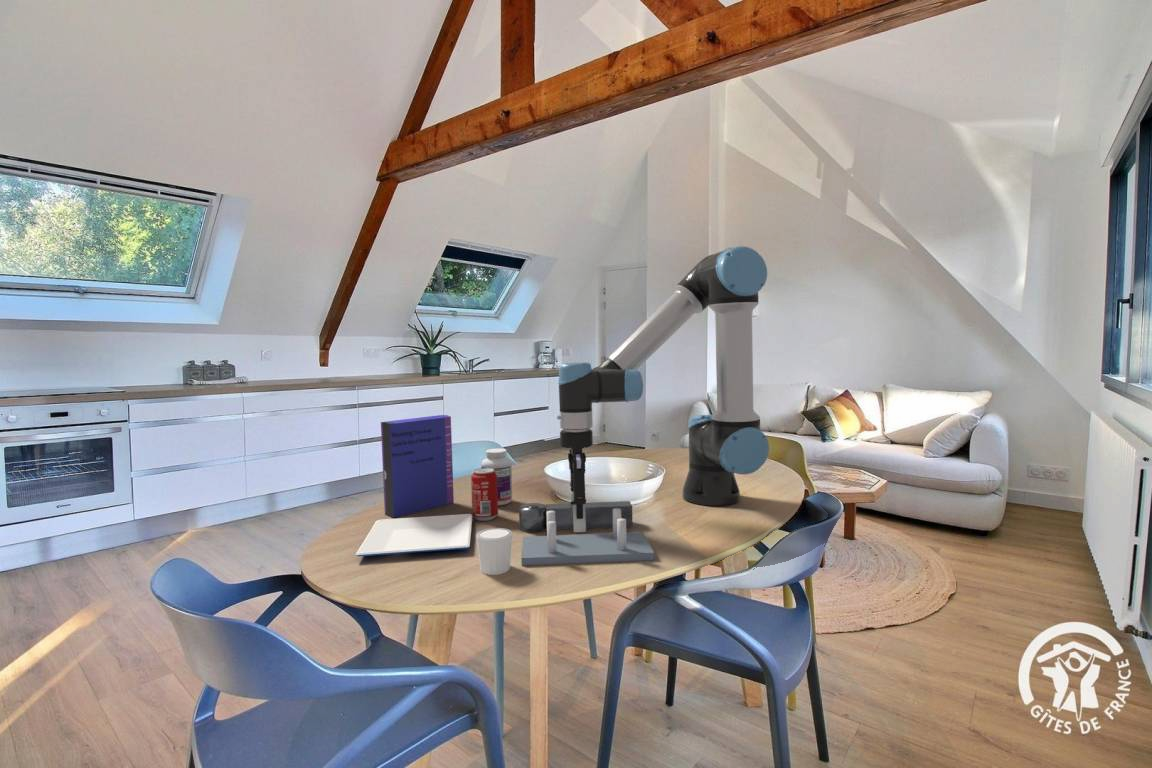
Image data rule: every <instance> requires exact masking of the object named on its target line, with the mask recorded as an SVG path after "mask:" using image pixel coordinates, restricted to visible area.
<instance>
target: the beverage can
mask: <svg viewBox="0 0 1152 768" xmlns="http://www.w3.org/2000/svg"><path fill="white" fill-rule="evenodd" d="M470 480H471V481H470V483H471V513H472V517H474V519H475V520H476V521H482V522H484V521H485V522H487V521H491V520H494V519H496V516H498V514H499V506H498V493H497V475H496V473H495V472H494V469H492V468H482V467H481V468H477V469H474V470H473V473H472V475H471V477H470Z"/></svg>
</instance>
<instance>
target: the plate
mask: <svg viewBox="0 0 1152 768" xmlns="http://www.w3.org/2000/svg"><path fill="white" fill-rule="evenodd" d="M472 522H473V515H472V514H471V513H462V514H460V513H459V514H450V515H449V514H448V515H446V514H445V515H433V516H432V515H431V516H417V517H397V518H387V519H386V518H384V519H377V520H376V521H375V522H374V524H373V526H372V527H371V528H370V531H369V532H368V534H367V536H366V537H365V539H364V540H363V542H362V543H361V546H360V547H359V548H358V550H357V551H356V553H355V556H356V557H370V556H371V557H372V556H382V555H383V556H384V555H399V554H411V553H412V554H413V553H424V552H425V553H426V552H439V551H452V550H453V551H454V550H465V549H466V550H467V549H469V548H470V545H471V534H472Z"/></svg>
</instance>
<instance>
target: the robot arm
mask: <svg viewBox="0 0 1152 768" xmlns="http://www.w3.org/2000/svg"><path fill="white" fill-rule="evenodd" d="M767 279H768V268H767V264H766V261H765V260H764V258H763V257H762V255H760V254H759V252H758V251H756V250H755V249H753V248H751V247H748V246H741V245H740V246H734V247H728V248H726V249H724V250H722V251H719V252H715V253H713V254H710V255H708V256H705V257H704V258H702V259H701V260H700V261H699V262H698V263H697V264H696V265H695V266H694V267H693V268H692V269H691V270H690V271H689V272H688V273H687V274H686V275H685V276H683V278H682V279H681V280H680V281H679V282H678V283H677V284H676V285H675V286H674V291H673V293H672V294H671V295H670V296H669V297H668V298H667V299H666V300H665V301H664V302H663V303H662V304H661V305H660V306H659V307H657V309H656V310H655V311H654V312H653V313H652V314H651V315H649V317H648V318H647V319H646V320H644V321H643V323H642V324H641V325H640V326H639V327H638V328H637V329H635V331H633V333H631V335H629V336H628V337H627V339H625V340H624V341H623V342H622V343H621V344H620V345H618V347H616V349H615V350H614V351H613V352H612V353H611V354H610V355H609V356H608V357H606V358H605V360H603V361H602V363H600V365H598V366H596V367H593V368H592V365H591V363H590V362H584V361H583V362H581V361H580V362H563V363H562V364H561V365H559V368H558V382H557V384H558V400H559V401H558V403H559V415H557V417H556V419H557V420H559V428H560V429H561V430H560V432H559V436H560V437H559V441H560V442H559V443H560V446H561V447H562V448H565V449H568V450H569V452H568V453H567V458H568V459H567V460H568V468H569V473H570V474H569V475H570V483H569V486H570V491H571V492H570V503H571V505H573V523H574V529H573V533H586V532H587V529H586V517H585V503H587V499H586V483H585V481H586V475H585V473H586V462H587V456H586V452H583V449H585V448H586V449H587V448H590V447H592V446H593V443H594V441H593V434H594V433H593V430H592V428H593V422H594V421H593V404H595V403H596V404H599V403H619V402H620V403H621V402H622V403H625V402H626V403H629V402H634V401H636V402H637V401H639V400H640V399H641V398H642V395H643V393H644V392H643V390H644V379H643V377H642V376H643V375H642V373H641V372H640V371H639V370H638V369H639V368H640V367H641V366H642V365H644V364H645V362H646V361H647V360H649V358H650V357H651V356H653V355H654V354H655V353H656V351H658V350H659V349H660V348H661V347H662V346H663V345H664V344H665V343H666V342H667V341H668V340H669V339H670V338H671V337H672V336H673V335H674V334H675V333H676V332H677V331H678V330H680V328H681V327H682V326H684V324H685V323H686V322H687V321H689V320H690V319H691V318H692V316H694V315H695V314H701V313H702V312H703V311H705V309H706V308H708V307H709V308H710V310H711V311H712V312H714V314H715V315H714V316H715V317H714V318H715V319H714V320H715V322H714V324H715V367H716V368H715V369H716V370H715V371H716V372H715V373H716V374H715V375H716V412H714V413H712V414H696V415H692V416H690V418H689V421H688V427H687V429H688V472H687V475H686V478H685V481H684V484H683V488H682V499H684V500H685V501H687V502H688V503H693V504H696V505H702V506H713V507H715V506H716V507H718V506H719V507H720V506H730V505H734V504H737V503H738V502H740V499H741V498H740V497H741V496H740V495H741V491H740V488H739V485H738V482H737V479H736V476H735V474H737V475H744V476H745V475H749V474H753V473H755V472H757V471H759V470H760V469H761V467H762V466H763V465H764V464H765V463H766V461H767V460H768V457H769V454H770V453H769V452H770V442H769V439H768V437H767V436H766V435H765V433H764V432H763V431H762V430H761V417H760V415H759V414H758V413H756V411H755V410H754V372H753V371H754V363H753V361H754V359H753V357H754V356H753V353H754V352H753V349H754V348H753V311H754V310H755V308H756V307H757V306H758V305H759V303H760V302H759V292H760V291H761V290H762V289H763V287H764V286H765V285H766V283H767Z"/></svg>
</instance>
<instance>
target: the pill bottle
mask: <svg viewBox="0 0 1152 768" xmlns="http://www.w3.org/2000/svg"><path fill="white" fill-rule="evenodd" d="M507 454H508V453H507V449H505V448H489V449H486V450H485V457H486V458H484V459H483V460H482V461H481V468H492V469H494V472H495V473H496V475H497V493H498V507H499V506H506V505H508V504H509V503H511V502H512V500H513V481H512V479H513V478H512V477H513V475H512V461H511V459H510V458H509V457H506V456H507Z"/></svg>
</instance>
